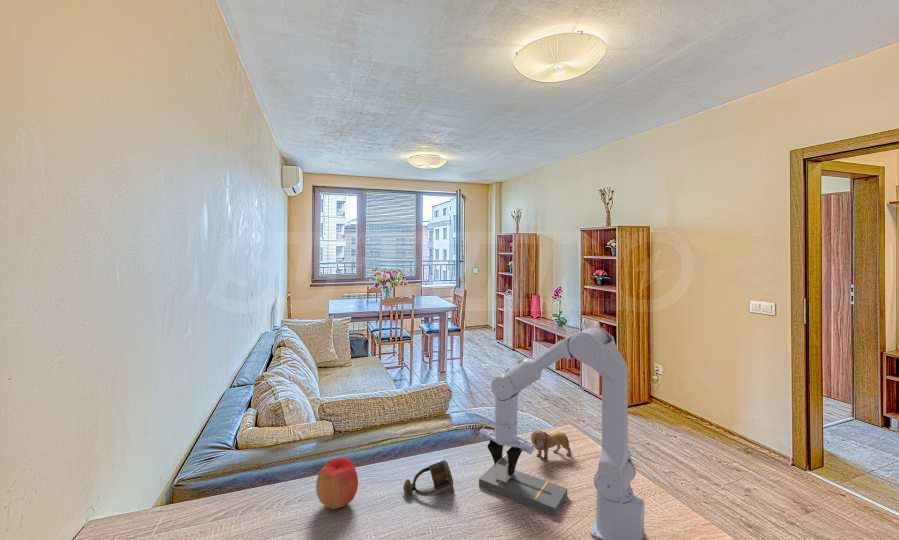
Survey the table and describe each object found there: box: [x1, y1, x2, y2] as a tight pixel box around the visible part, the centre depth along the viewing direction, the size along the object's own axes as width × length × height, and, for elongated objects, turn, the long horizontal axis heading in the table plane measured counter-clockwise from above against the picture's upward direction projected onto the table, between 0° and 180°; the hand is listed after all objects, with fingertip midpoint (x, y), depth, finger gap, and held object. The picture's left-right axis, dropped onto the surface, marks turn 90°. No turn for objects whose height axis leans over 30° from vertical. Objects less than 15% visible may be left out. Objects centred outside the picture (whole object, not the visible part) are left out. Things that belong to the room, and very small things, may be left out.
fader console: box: [478, 463, 568, 518], centre depth 97 cm, size 20×9×2 cm, turn 56°
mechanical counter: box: [403, 459, 455, 499], centre depth 97 cm, size 7×13×10 cm
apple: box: [315, 457, 359, 510], centre depth 91 cm, size 10×10×10 cm
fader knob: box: [495, 454, 511, 482], centre depth 100 cm, size 3×5×4 cm, turn 146°
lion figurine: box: [530, 429, 572, 462], centre depth 114 cm, size 15×5×9 cm, turn 118°
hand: (505, 471), depth 100 cm, fingers closed on fader knob, 3 cm apart
